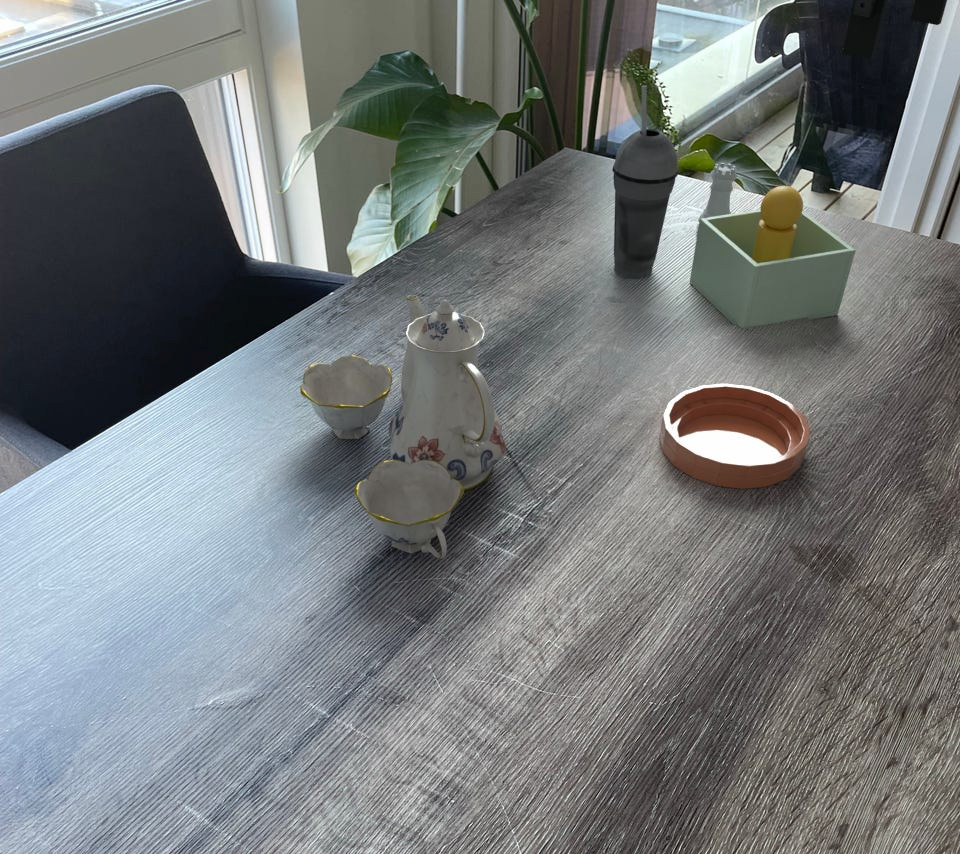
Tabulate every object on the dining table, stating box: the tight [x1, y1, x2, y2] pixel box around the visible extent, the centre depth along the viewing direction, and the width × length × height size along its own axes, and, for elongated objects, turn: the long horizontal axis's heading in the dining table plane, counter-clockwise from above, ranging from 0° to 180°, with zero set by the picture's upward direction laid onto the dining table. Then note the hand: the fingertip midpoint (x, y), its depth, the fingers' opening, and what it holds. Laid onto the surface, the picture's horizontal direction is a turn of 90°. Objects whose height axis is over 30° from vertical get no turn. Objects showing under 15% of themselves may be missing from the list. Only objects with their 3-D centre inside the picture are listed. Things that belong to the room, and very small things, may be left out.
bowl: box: [659, 383, 811, 490], centre depth 96 cm, size 13×13×3 cm
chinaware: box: [299, 294, 507, 560], centre depth 89 cm, size 28×17×17 cm, turn 27°
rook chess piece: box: [696, 162, 738, 231], centre depth 127 cm, size 4×4×8 cm
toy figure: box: [752, 185, 804, 264], centre depth 113 cm, size 4×4×12 cm
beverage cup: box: [611, 84, 679, 279], centre depth 115 cm, size 7×7×20 cm
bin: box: [689, 209, 856, 329], centre depth 115 cm, size 12×12×8 cm
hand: (892, 38), depth 94 cm, fingers open, 13 cm apart
